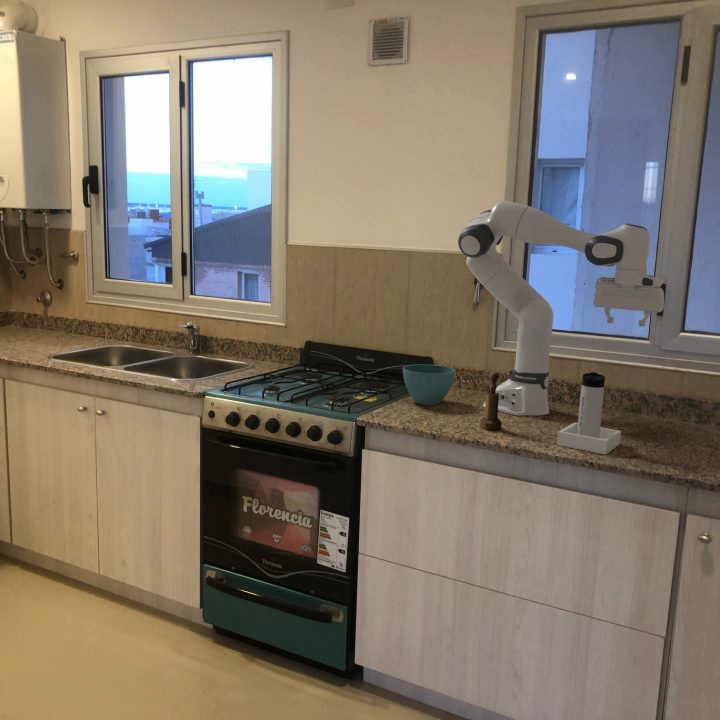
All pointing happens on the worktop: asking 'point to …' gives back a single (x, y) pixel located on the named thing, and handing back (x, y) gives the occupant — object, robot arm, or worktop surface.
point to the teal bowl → (428, 382)
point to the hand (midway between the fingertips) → (625, 324)
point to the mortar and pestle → (491, 406)
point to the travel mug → (591, 405)
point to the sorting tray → (589, 439)
